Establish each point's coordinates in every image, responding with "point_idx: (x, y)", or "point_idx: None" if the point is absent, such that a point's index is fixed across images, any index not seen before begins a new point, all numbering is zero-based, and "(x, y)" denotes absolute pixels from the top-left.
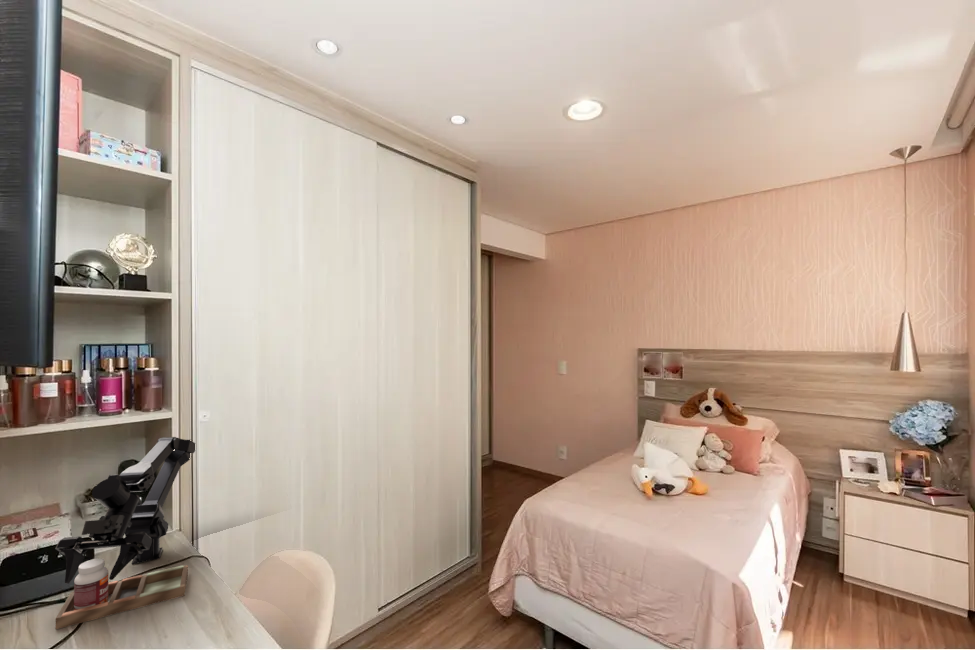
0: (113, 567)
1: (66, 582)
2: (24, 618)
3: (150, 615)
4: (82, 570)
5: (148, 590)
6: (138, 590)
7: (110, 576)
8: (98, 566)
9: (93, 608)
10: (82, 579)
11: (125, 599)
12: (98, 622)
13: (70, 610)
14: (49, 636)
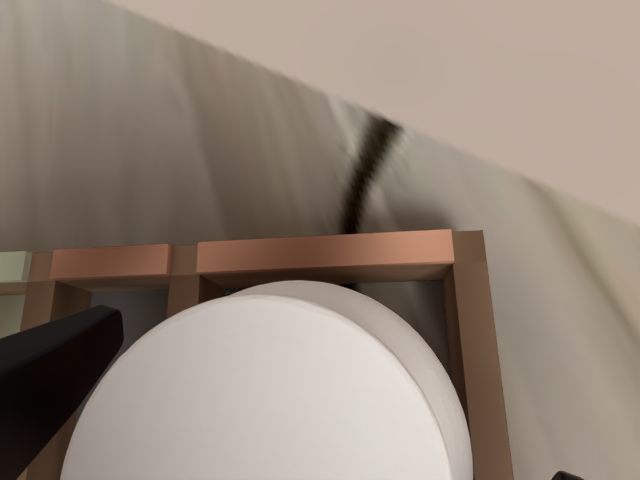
0: (12, 361)
1: (562, 472)
2: None
3: (34, 163)
4: (352, 319)
5: None
6: None
7: (98, 315)
8: (143, 347)
9: (276, 242)
10: (349, 301)
11: (102, 249)
12: (259, 217)
13: None
14: (472, 194)
